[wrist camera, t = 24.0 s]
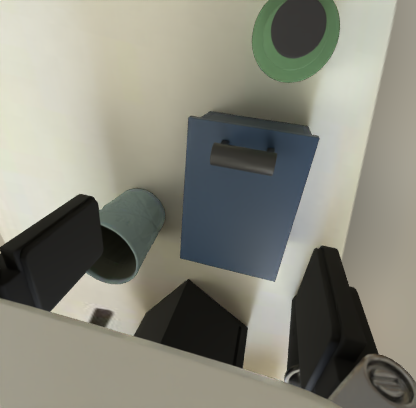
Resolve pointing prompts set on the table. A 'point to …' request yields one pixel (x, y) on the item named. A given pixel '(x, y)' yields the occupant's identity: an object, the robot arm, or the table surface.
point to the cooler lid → (242, 194)
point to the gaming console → (195, 326)
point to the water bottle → (295, 37)
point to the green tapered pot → (127, 235)
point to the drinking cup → (293, 352)
